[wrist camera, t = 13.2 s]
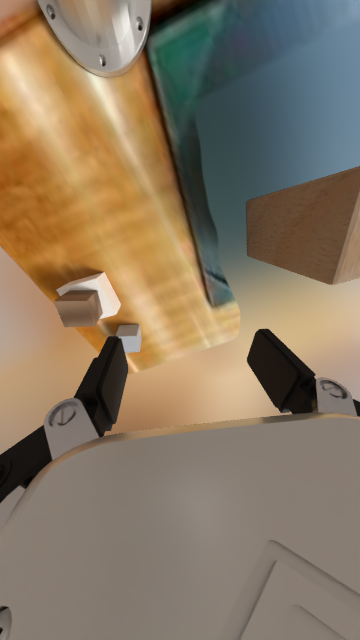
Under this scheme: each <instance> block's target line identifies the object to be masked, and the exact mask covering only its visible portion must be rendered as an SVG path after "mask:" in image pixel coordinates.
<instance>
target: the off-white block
mask: <svg viewBox="0 0 360 640" xmlns="http://www.w3.org/2000/svg"><path fill="white" fill-rule="evenodd" d="M69 290H97V291H98V295H99V299H100V303H101V307H102V311H103V314H102V315H101V317H100V318H99V319H102V318H105V317H109V316H113V315H116V314H117V312H118V310H119V308H120V306H121V304H120V302H119V300H118V298H117V296H116V294H115V292H114V290H113V288H112V286H111V284H110V282H109V280H108V278H107V276H106V274H105V272H103V273H99V274H96V275H92V276H89V277H85V278H82V279H78V280H75V281H71V282H68V283H67V284H65V285H63V286H62V287H60V288H58V289H57V290H56V291H57V292H58V294H59V295H60V296H62V295H63V294H65V293H66V292H68V291H69Z"/></svg>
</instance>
